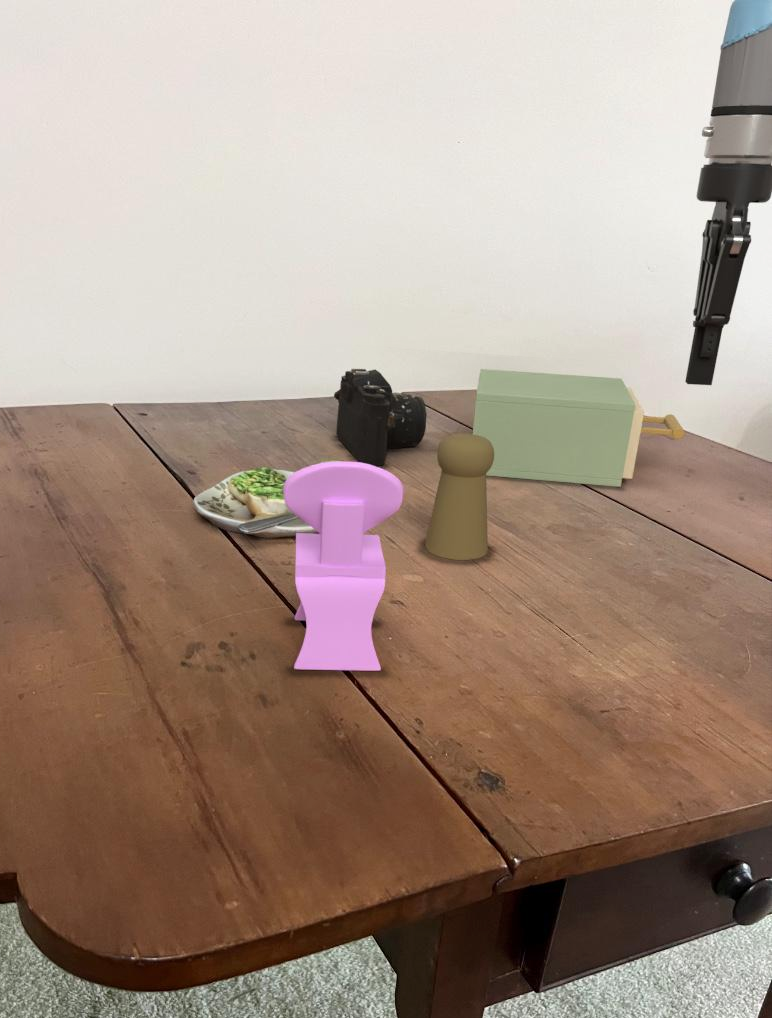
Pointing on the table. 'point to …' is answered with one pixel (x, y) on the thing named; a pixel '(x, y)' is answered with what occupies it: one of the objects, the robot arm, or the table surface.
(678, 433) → the drawer
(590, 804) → the table surface
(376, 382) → the film camera
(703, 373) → the robot arm
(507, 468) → the cabinet
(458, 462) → the cork
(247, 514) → the salad plate
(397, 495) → the toy chair
